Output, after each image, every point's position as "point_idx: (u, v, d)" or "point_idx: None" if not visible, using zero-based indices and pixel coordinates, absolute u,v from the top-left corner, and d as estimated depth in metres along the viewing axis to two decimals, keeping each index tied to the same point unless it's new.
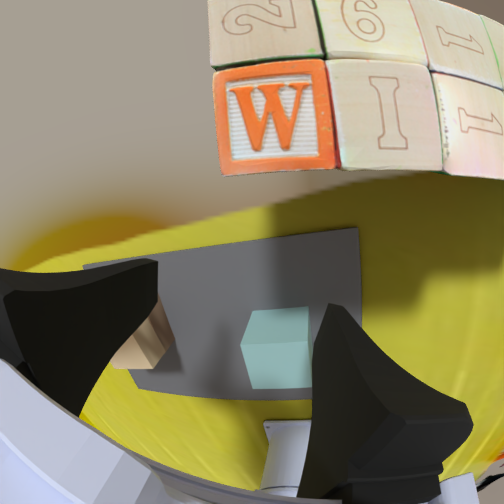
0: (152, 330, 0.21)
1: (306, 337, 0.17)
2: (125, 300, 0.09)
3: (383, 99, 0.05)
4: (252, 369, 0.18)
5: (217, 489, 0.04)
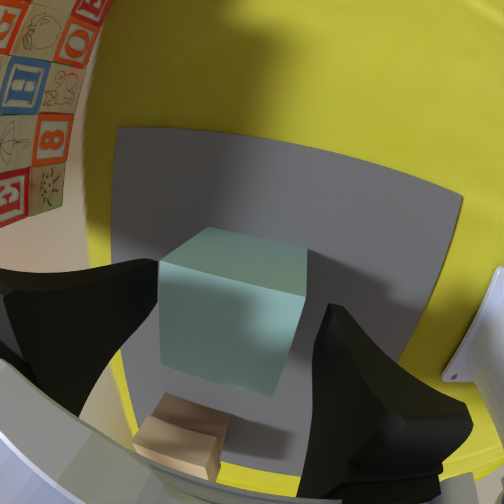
0: (180, 429, 0.14)
1: (165, 258, 0.08)
2: (125, 300, 0.09)
3: None
4: (218, 376, 0.09)
5: (217, 489, 0.04)
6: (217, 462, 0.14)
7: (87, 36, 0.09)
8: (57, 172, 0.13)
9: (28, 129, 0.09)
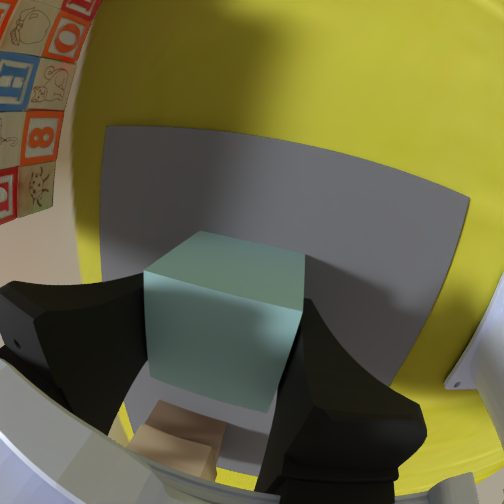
0: (175, 438, 0.13)
1: (150, 267, 0.08)
2: None
3: None
4: (209, 391, 0.08)
5: (217, 489, 0.04)
6: (213, 470, 0.14)
7: (78, 30, 0.09)
8: (47, 171, 0.12)
9: (16, 127, 0.08)
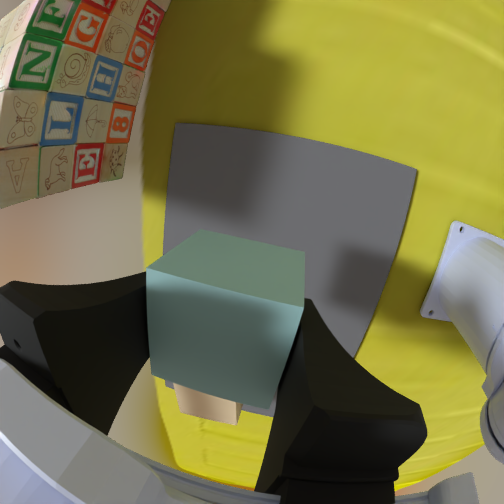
0: None
1: (152, 265, 0.08)
2: None
3: None
4: (211, 388, 0.09)
5: (217, 489, 0.04)
6: None
7: (146, 46, 0.15)
8: (122, 150, 0.18)
9: (106, 113, 0.15)
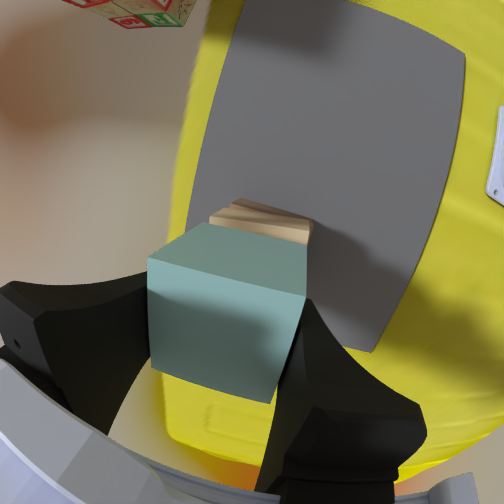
0: (267, 214, 0.15)
1: None
2: None
3: None
4: (211, 381, 0.08)
5: (217, 489, 0.04)
6: None
7: None
8: (191, 1, 0.13)
9: None
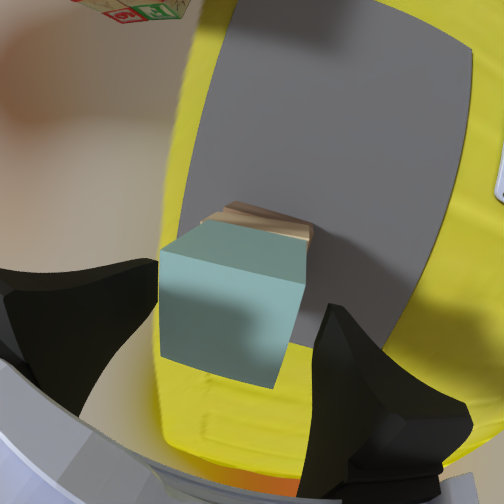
0: (263, 219, 0.14)
1: (165, 248, 0.08)
2: (125, 300, 0.09)
3: None
4: (218, 367, 0.09)
5: (217, 489, 0.04)
6: None
7: None
8: None
9: None
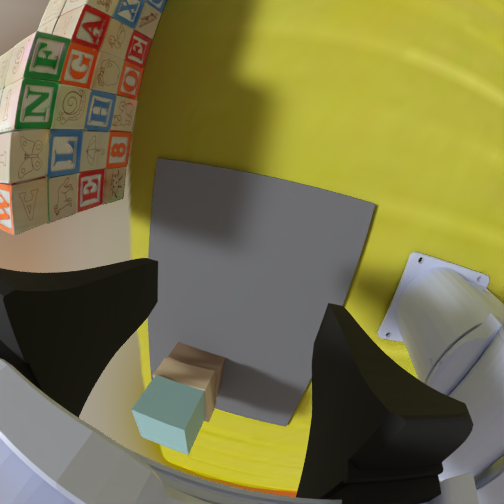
0: (189, 366, 0.23)
1: None
2: (125, 299, 0.09)
3: None
4: (164, 444, 0.18)
5: (217, 489, 0.04)
6: (214, 396, 0.23)
7: (136, 75, 0.17)
8: (121, 173, 0.21)
9: (104, 142, 0.17)
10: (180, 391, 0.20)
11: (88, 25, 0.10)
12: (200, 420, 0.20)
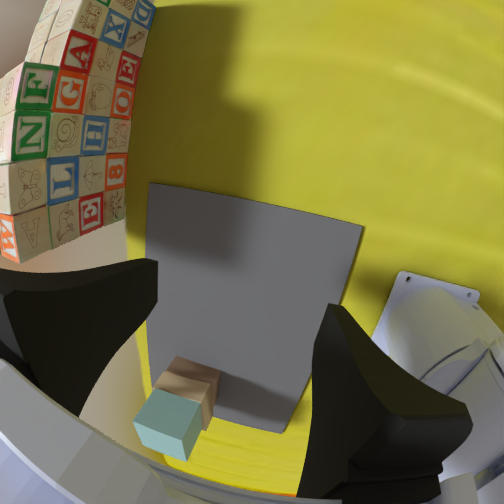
0: (186, 379, 0.23)
1: (134, 418, 0.18)
2: (125, 299, 0.09)
3: None
4: (164, 452, 0.18)
5: (217, 489, 0.04)
6: (210, 407, 0.24)
7: (128, 96, 0.18)
8: (120, 194, 0.21)
9: (101, 165, 0.18)
10: (178, 403, 0.20)
11: (76, 50, 0.11)
12: (197, 430, 0.21)
